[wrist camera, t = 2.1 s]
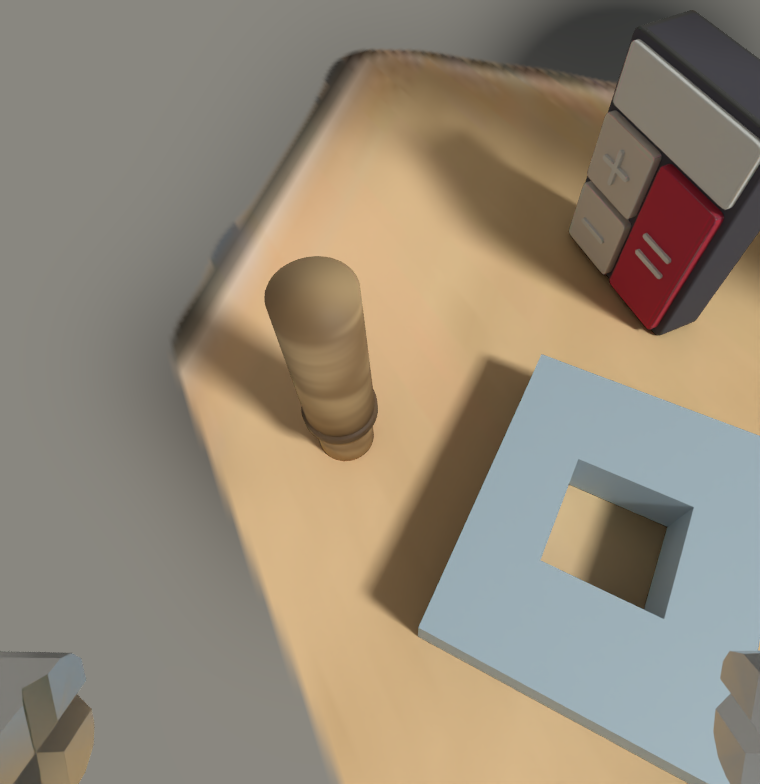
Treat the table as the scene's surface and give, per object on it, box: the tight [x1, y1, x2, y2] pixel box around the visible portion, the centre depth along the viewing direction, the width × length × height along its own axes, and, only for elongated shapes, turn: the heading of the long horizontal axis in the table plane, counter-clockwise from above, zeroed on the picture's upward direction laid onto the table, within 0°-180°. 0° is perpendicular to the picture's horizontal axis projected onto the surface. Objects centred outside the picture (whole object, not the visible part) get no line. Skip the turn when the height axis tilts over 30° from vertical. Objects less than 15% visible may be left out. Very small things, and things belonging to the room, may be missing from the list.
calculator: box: [569, 10, 760, 335], centre depth 35 cm, size 11×4×15 cm, turn 23°
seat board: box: [418, 355, 760, 784], centre depth 30 cm, size 17×14×4 cm
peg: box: [265, 256, 378, 461], centre depth 30 cm, size 4×4×14 cm
